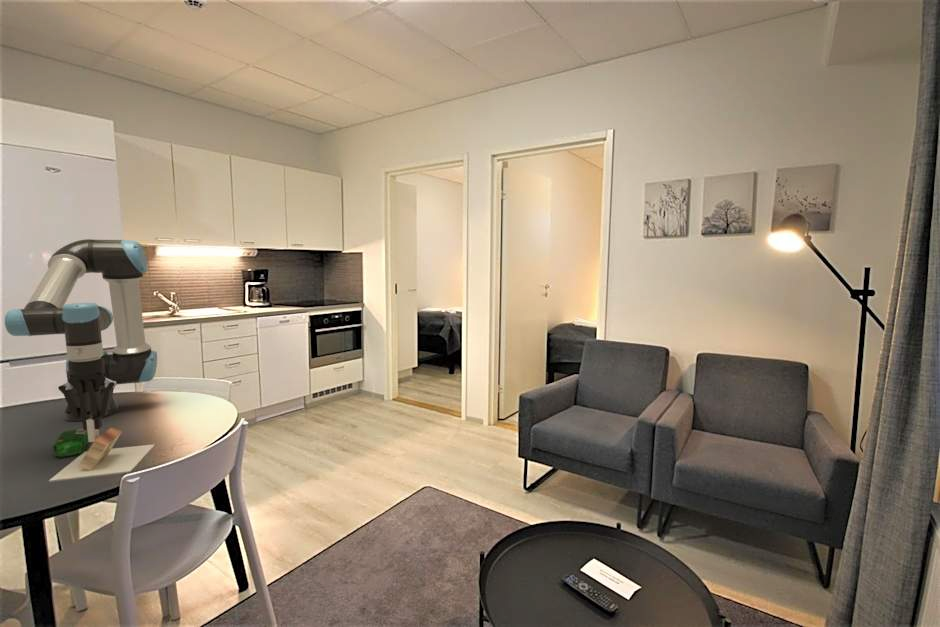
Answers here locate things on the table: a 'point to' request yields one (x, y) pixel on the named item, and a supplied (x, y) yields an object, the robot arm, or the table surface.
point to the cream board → (105, 463)
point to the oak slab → (100, 448)
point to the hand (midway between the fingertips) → (94, 440)
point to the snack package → (71, 442)
